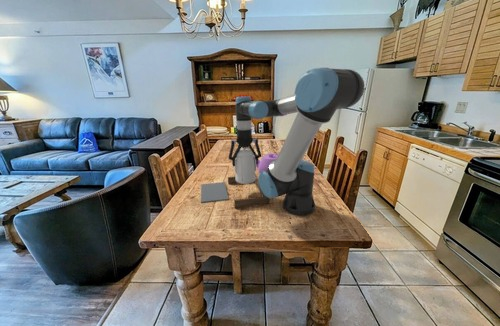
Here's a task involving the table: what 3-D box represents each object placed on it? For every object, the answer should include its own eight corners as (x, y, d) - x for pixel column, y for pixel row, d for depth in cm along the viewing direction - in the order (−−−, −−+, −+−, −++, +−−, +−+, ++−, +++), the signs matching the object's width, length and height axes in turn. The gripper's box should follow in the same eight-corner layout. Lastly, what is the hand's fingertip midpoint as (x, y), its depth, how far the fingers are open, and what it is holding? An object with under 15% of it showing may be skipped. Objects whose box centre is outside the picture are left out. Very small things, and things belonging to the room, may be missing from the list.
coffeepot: (228, 190, 106) (226, 152, 101) (241, 172, 130) (239, 141, 124) (250, 191, 104) (249, 153, 99) (259, 173, 128) (258, 142, 122)
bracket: (269, 204, 107) (269, 197, 106) (234, 208, 104) (234, 200, 103) (255, 180, 136) (255, 174, 134) (228, 183, 132) (227, 177, 131)
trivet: (228, 199, 112) (228, 198, 112) (201, 202, 110) (200, 201, 110) (224, 183, 133) (224, 182, 133) (201, 185, 130) (201, 184, 130)
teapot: (259, 167, 158) (259, 147, 153) (286, 171, 151) (287, 150, 146) (249, 177, 141) (248, 155, 136) (279, 181, 134) (280, 158, 129)
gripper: (263, 126, 114) (264, 166, 121) (221, 128, 110) (223, 170, 117) (267, 128, 107) (267, 171, 114) (222, 131, 103) (225, 175, 110)
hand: (245, 170), depth 115 cm, fingers closed on coffeepot, 10 cm apart
